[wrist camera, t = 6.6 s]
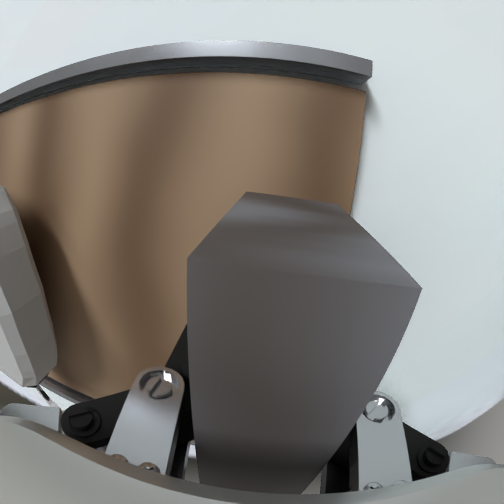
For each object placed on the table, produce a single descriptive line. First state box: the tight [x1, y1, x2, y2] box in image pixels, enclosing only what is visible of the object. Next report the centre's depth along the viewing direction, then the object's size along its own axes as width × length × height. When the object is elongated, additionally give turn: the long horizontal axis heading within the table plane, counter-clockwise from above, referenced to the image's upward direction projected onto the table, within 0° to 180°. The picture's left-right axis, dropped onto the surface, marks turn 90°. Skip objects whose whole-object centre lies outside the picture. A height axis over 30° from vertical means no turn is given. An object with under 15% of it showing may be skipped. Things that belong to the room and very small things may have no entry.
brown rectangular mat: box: [0, 72, 422, 494], centre depth 9 cm, size 28×18×6 cm, turn 84°
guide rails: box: [0, 41, 372, 445], centre depth 11 cm, size 36×20×1 cm, turn 84°
